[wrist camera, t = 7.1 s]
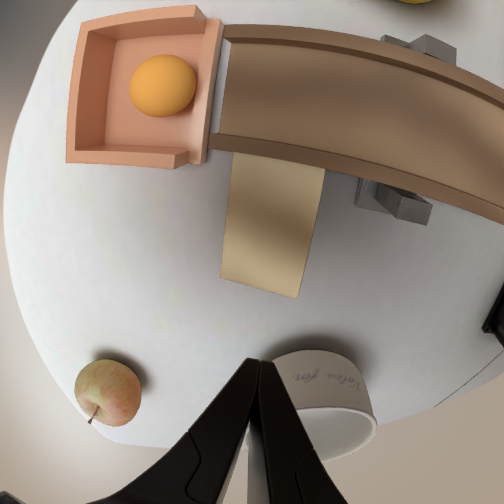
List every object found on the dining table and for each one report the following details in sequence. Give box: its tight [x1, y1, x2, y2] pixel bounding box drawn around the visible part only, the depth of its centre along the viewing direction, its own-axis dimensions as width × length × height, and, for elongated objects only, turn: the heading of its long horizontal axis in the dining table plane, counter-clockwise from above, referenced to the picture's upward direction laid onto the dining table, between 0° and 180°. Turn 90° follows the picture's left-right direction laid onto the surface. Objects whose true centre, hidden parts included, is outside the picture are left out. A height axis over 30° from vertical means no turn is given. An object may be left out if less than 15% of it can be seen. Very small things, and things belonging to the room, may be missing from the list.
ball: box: [129, 54, 196, 118], centre depth 14 cm, size 4×4×4 cm
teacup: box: [240, 350, 377, 463], centre depth 22 cm, size 14×11×8 cm
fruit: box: [75, 359, 141, 426], centre depth 25 cm, size 8×7×8 cm
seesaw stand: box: [354, 34, 456, 226], centre depth 14 cm, size 12×4×5 cm, turn 172°
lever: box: [208, 24, 504, 299], centre depth 13 cm, size 15×22×3 cm
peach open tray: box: [66, 5, 225, 169], centre depth 15 cm, size 10×9×4 cm
